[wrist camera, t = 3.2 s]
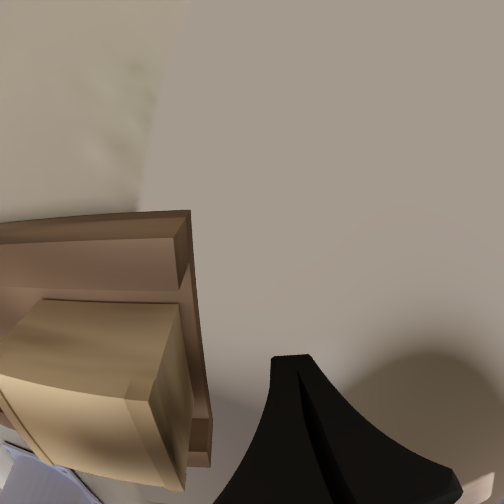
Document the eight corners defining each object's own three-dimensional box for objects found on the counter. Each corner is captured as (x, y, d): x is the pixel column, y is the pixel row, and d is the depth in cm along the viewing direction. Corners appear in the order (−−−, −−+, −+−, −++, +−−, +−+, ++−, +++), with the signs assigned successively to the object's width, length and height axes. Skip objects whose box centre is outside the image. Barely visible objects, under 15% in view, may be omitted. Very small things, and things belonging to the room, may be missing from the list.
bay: (213, 421, 14) (210, 476, 11) (-9, 384, 14) (-31, 416, 11) (190, 209, 10) (169, 244, 7) (-68, 232, 10) (-107, 254, 7)
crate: (194, 402, 12) (184, 492, 8) (75, 390, 12) (42, 462, 8) (177, 301, 10) (147, 401, 6) (39, 297, 10) (-24, 366, 6)
